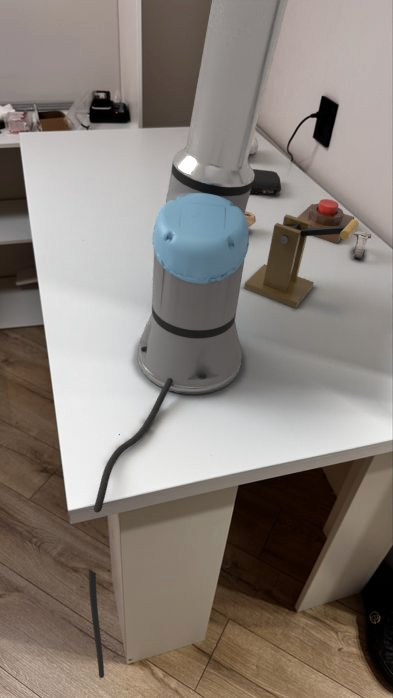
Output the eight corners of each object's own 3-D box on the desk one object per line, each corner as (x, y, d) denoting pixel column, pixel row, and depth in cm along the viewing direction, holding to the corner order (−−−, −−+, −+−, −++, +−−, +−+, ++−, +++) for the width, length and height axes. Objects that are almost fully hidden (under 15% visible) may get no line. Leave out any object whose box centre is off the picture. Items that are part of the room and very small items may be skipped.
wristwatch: (366, 249, 109) (373, 227, 106) (364, 264, 105) (371, 241, 101) (349, 246, 110) (355, 224, 107) (346, 260, 105) (353, 237, 102)
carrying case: (218, 193, 124) (280, 200, 124) (219, 181, 122) (283, 187, 122) (219, 175, 132) (278, 181, 133) (220, 163, 130) (280, 169, 131)
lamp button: (332, 218, 111) (334, 209, 110) (314, 212, 112) (316, 203, 111) (338, 211, 114) (341, 202, 112) (321, 206, 115) (323, 197, 114)
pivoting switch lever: (359, 230, 85) (358, 215, 84) (349, 242, 81) (348, 227, 80) (290, 234, 92) (287, 221, 90) (278, 246, 88) (275, 232, 87)
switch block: (336, 243, 110) (341, 226, 108) (292, 228, 114) (296, 211, 111) (351, 226, 117) (356, 209, 114) (309, 212, 120) (313, 196, 118)
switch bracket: (312, 287, 97) (329, 223, 88) (295, 308, 91) (312, 242, 83) (263, 269, 100) (275, 206, 92) (244, 288, 95) (255, 222, 86)
